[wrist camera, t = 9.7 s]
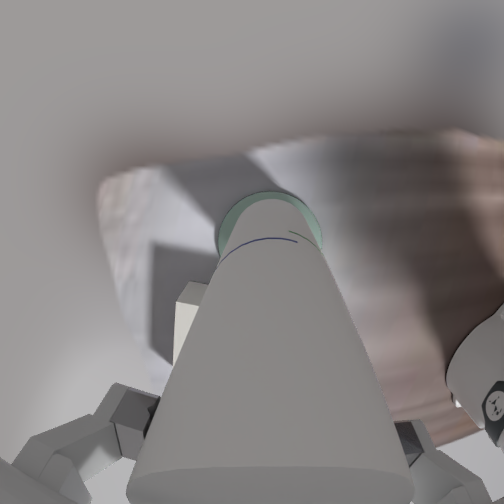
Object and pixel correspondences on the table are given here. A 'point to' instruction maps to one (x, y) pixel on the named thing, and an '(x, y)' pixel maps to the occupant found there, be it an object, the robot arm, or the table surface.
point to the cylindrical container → (272, 386)
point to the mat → (246, 202)
